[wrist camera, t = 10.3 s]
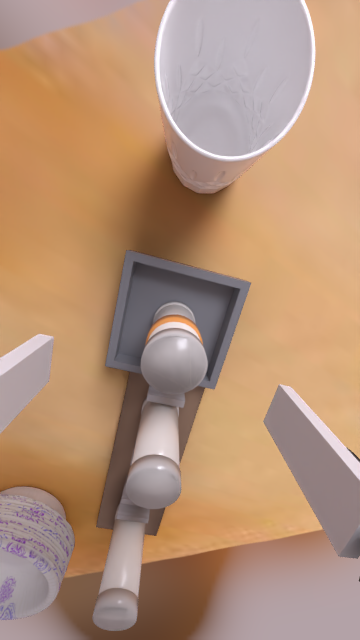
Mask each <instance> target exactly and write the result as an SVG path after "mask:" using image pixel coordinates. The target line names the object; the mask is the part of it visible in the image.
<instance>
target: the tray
mask: <svg viewBox="0 0 360 640" xmlns="http://www.w3.org/2000/svg"><path fill="white" fill-rule="evenodd" d="M250 285H251V283H250V282H248V281H245V280H242V279H238V278H235V277H231V276H227V275H223V274H219V273H216V272H212V271H208V270H204V269H201V268H197V267H193V266H189V265H185V264H182V263H178V262H174V261H170V260H166V259H163V258H159V257H155V256H151V255H148V254H144V253H140V252H136V251H132V250H126V255H125V260H124V266H123V271H122V277H121V282H120V288H119V293H118V299H117V304H116V310H115V315H114V321H113V326H112V332H111V337H110V343H109V348H108V354H107V359H106V365H105V366H107V367H111V368H116V369H121V370H126V371H130V372H135V373H140V374H142V371H141V358H142V354H143V351H144V348H145V344H146V339H147V336H148V333H149V330H150V328H151V326H152V325H153V319H154V315H155V313H156V311H157V309H158V308H159V307H160V306H161V305H163V304H164V303H166V302H170V301H179V302H182V303H184V304H186V305H187V306H188V307H189V308H190V309H191V310H192V312H193V315H194V318H195V324H196V326H197V327H198V329H199V332H200V335H201V338H202V342H203V347H204V350H205V353H206V356H207V361H208V366H207V372H206V374H205V377H204V378H203V380H202V381H201V383H200V384H199V385H198V386H201V387H205V388H210V389H215V386H216V384H217V381H218V378H219V375H220V372H221V369H222V366H223V363H224V360H225V357H226V355H227V352H228V349H229V346H230V343H231V340H232V337H233V334H234V331H235V328H236V325H237V323H238V320H239V317H240V314H241V311H242V308H243V305H244V302H245V299H246V296H247V293H248V291H249V288H250Z"/></svg>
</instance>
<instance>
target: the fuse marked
mask: <svg viewBox="0 0 360 640" xmlns="http://www.w3.org/2000/svg"><path fill="white" fill-rule="evenodd" d="M207 366H208V361H207V356H206V353H205V350H204V347H203V342H202V338H201V335H200V332H199V329H198V327H197V326H196V324H195V318H194V315H193V312H192V310H191V309H190V308H189V307H188V306H187V305H186V304H184V303H182V302H179V301H170V302H166V303H164V304H163V305H161V306H160V307H159V308H158V309H157V311H156V313H155V315H154V319H153V325H152V326H151V328H150V330H149V333H148V336H147V339H146V344H145V348H144V351H143V354H142V358H141V371H142V374H143V376H144V378H145V380H146V381H147V382H148V384H149V385H150V386H152V387H153V388H154V389H156V390H158V391H160V392H163V393H166V394H181V393H185V392H188V391H190V390H192V389H194V388H195V387H196V386H198V385H199V384H200V383H201V381H202V380H203V378H204V377H205V374H206V372H207Z"/></svg>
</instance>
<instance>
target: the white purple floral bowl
mask: <svg viewBox="0 0 360 640" xmlns="http://www.w3.org/2000/svg"><path fill="white" fill-rule="evenodd" d="M74 544H75V538H74V533H73V530H72V527H71V525H70V524H69V523H68V522H67V521H66V515H65V511H64V508H63V506H62V505H61V503H60V502H59V501H58V500H57V498H55V497H54V496H53V495H51V494H50V493H48V492H46V491H44V490H41V489H38V488H34V487H25V486H22V487H13V488H9V489H6V490H4V491H2V492H0V620H10V619H19V618H24V617H29V616H32V615H35V614H37V613H39V612H41V611H43V610H44V609H46V608H47V607H48V606H49V605H50V604H51V603H52V602H53V600H54V599H55V598H56V596H57V594H58V592H59V589H60V586H61V581H62V579H63V577H64V575H65V572H66V570H67V566H68V563H69V561H70V558H71V554H72V551H73V549H74Z"/></svg>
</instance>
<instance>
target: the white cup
mask: <svg viewBox="0 0 360 640" xmlns="http://www.w3.org/2000/svg"><path fill="white" fill-rule="evenodd" d="M314 66H315V39H314V31H313V26H312V21H311V18H310V14H309V11H308V8H307V6H306V4H305V1H304V0H170V2H169V4H168V6H167V8H166V10H165V12H164V15H163V17H162V20H161V23H160V27H159V30H158V34H157V39H156V46H155V55H154V72H155V82H156V88H157V94H158V99H159V105H160V111H161V117H162V123H163V129H164V135H165V140H166V144H167V149H168V153H169V155H170V158H171V162H172V167H173V171H174V172H175V174H176V175H177V177H178V178H179V180H180V181H181V182H182V184H183V185H184V186H185V187H187V188H189V189H191V190H193V191H195V192H196V193H216V192H218V191H219V190H221V189H223V188H225V187H227V186H229V185H230V184H231V183H232V182H234V181H235V180H236V179H238V178H239V177H240V176H241V175H242V174H244V173H245V172H246V171H247V170H248V169H250V168H251V167H252V166H253V165H254V164H255V163H256V162H257V161H258V160H259V159H260V158H261V157H263V156H264V155H265V154H266V153H267V152H268V151H269V150H270V149H271V148H272V147H273V146H275V145H276V144H277V143H278V142H279V141H280V140H281V139H282V138H283V137H284V136H285V135H286V134H287V133H288V131H289V130H290V129H291V127H292V126H293V125H294V123H295V122H296V120H297V118H298V117H299V115H300V113H301V111H302V109H303V107H304V105H305V102H306V100H307V97H308V94H309V91H310V87H311V84H312V79H313V74H314Z"/></svg>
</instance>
